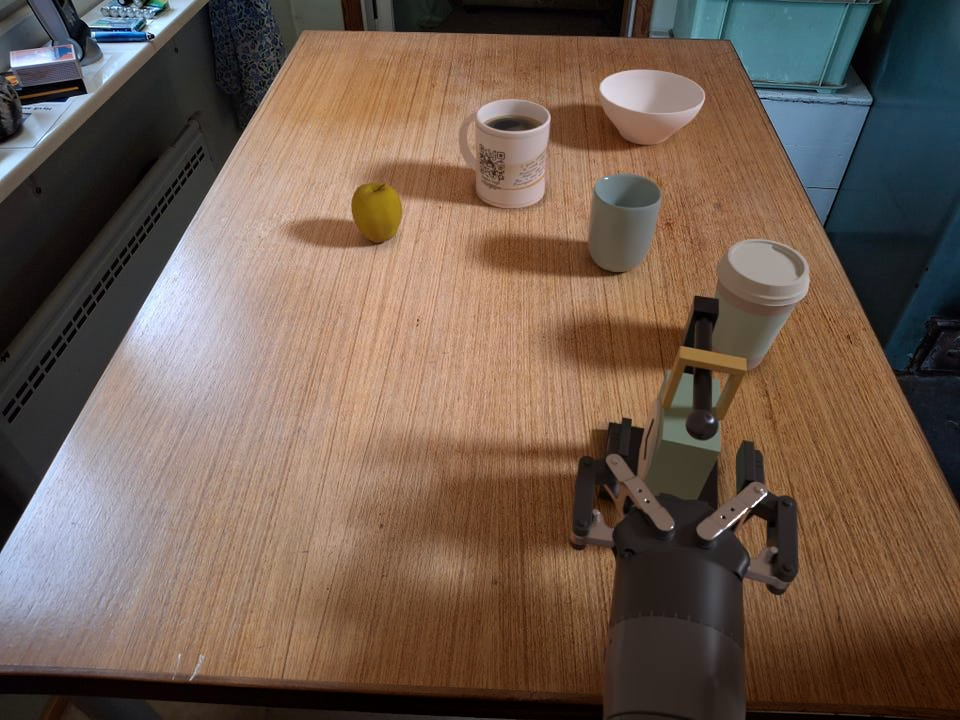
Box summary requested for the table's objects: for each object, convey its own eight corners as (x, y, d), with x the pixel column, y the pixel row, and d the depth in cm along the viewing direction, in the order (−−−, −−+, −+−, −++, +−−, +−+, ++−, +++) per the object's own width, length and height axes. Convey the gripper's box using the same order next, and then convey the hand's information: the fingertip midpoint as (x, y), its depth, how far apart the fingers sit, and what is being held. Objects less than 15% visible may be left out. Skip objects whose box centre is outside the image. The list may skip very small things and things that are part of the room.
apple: (412, 244, 86) (407, 189, 80) (363, 256, 84) (355, 200, 79) (396, 219, 90) (391, 164, 84) (350, 229, 88) (341, 174, 83)
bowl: (575, 140, 106) (580, 96, 101) (619, 103, 115) (625, 61, 110) (671, 169, 100) (681, 123, 95) (709, 127, 109) (720, 84, 104)
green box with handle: (688, 459, 58) (745, 330, 47) (685, 528, 53) (748, 402, 42) (634, 447, 59) (678, 317, 48) (627, 515, 54) (674, 387, 43)
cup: (578, 244, 86) (587, 174, 79) (637, 241, 86) (652, 171, 79) (590, 282, 80) (601, 210, 73) (654, 279, 81) (671, 207, 74)
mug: (484, 215, 91) (484, 138, 83) (457, 172, 99) (455, 98, 91) (555, 201, 93) (562, 125, 85) (524, 160, 101) (527, 87, 93)
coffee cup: (772, 389, 68) (814, 298, 60) (687, 368, 70) (716, 277, 62) (778, 336, 74) (816, 245, 65) (698, 317, 76) (726, 227, 68)
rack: (714, 449, 63) (776, 296, 50) (714, 587, 53) (791, 442, 40) (607, 429, 65) (640, 276, 52) (588, 559, 55) (623, 411, 42)
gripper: (831, 659, 34) (803, 421, 45) (554, 594, 37) (592, 383, 48) (784, 709, 40) (769, 485, 51) (545, 650, 42) (581, 448, 53)
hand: (683, 435), depth 49 cm, fingers open, 8 cm apart
